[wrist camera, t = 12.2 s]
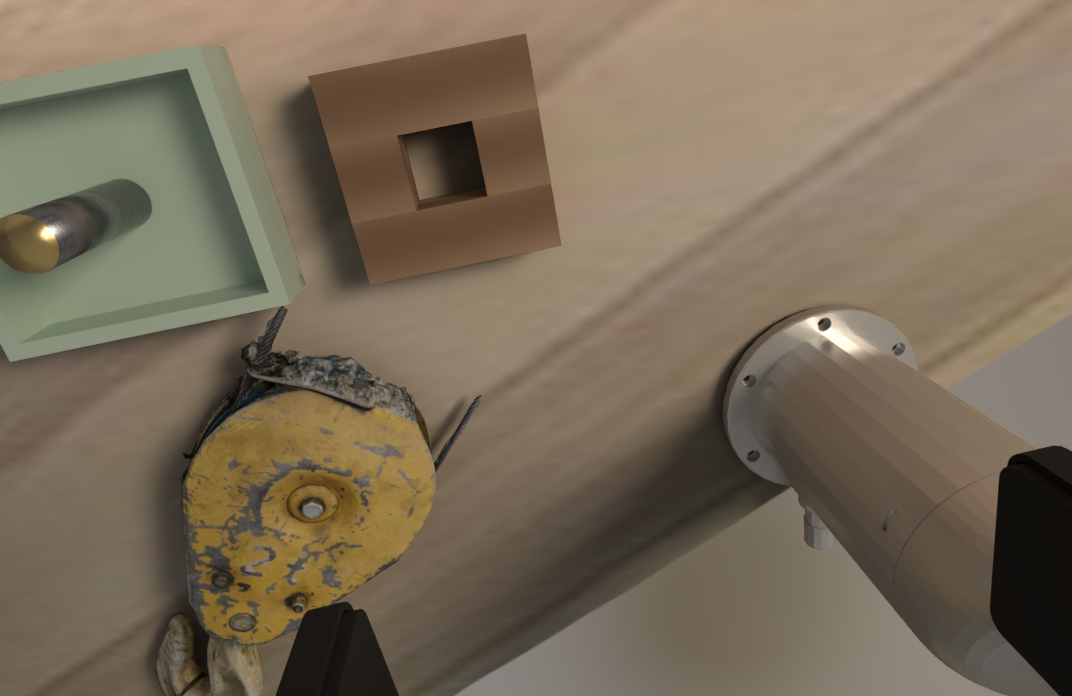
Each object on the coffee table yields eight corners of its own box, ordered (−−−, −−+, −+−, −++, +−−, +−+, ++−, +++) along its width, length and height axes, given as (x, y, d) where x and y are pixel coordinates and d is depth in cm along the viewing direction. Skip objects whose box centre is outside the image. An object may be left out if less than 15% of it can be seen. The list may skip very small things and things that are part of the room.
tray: (305, 283, 36) (290, 304, 33) (50, 336, 35) (10, 361, 32) (225, 47, 31) (198, 44, 28) (-71, 104, 31) (-132, 108, 27)
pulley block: (39, 741, 38) (255, 325, 30) (75, 655, 43) (269, 280, 35) (276, 768, 44) (508, 429, 36) (284, 691, 49) (489, 378, 41)
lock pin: (159, 222, 33) (70, 268, 26) (112, 230, 33) (10, 279, 26) (140, 174, 32) (41, 209, 25) (92, 183, 32) (-21, 220, 25)
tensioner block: (553, 232, 36) (561, 245, 34) (376, 269, 36) (370, 285, 33) (520, 37, 32) (525, 33, 30) (321, 76, 32) (308, 76, 29)
